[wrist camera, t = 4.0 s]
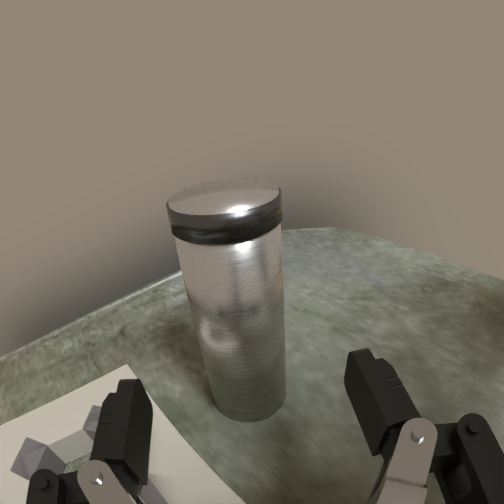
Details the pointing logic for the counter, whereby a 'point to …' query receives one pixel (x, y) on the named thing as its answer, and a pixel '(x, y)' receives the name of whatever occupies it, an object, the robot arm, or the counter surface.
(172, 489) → the mount plate
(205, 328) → the grey cylindrical piece
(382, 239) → the counter surface
